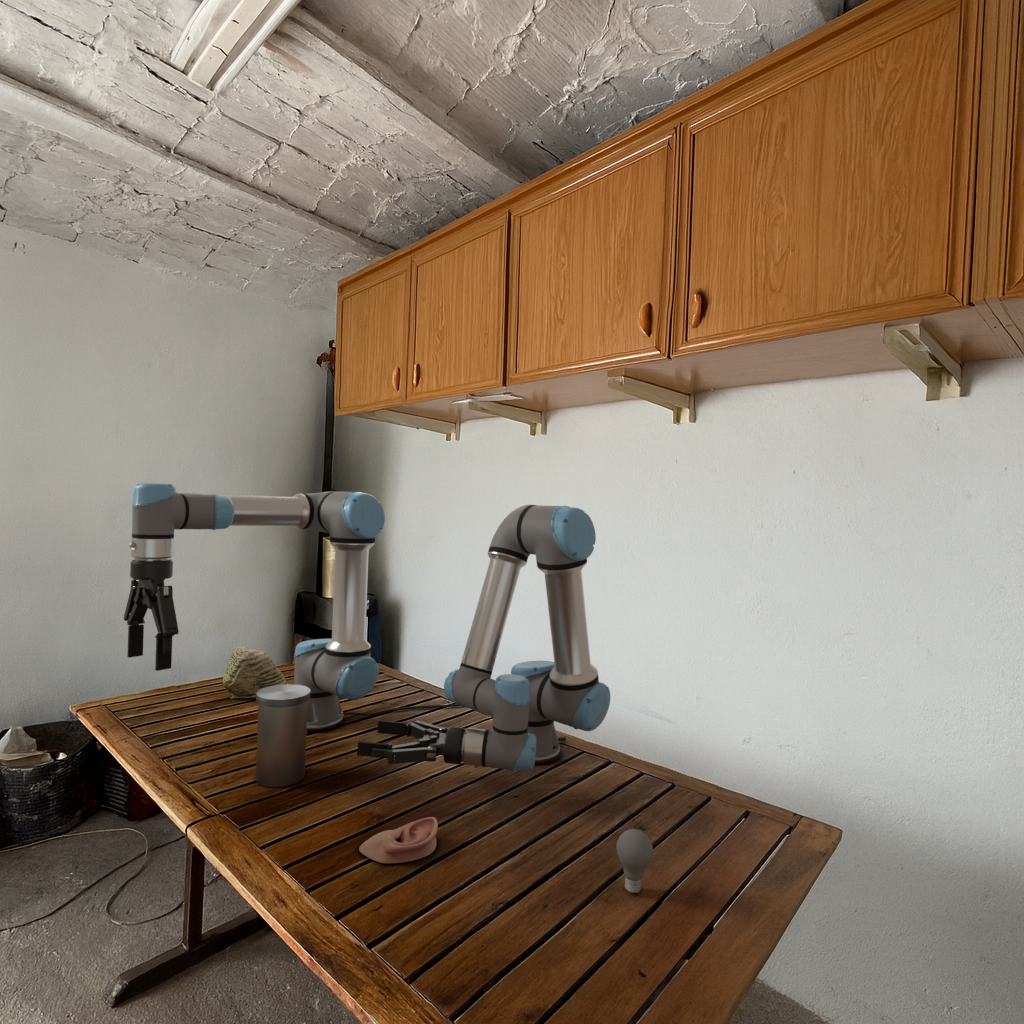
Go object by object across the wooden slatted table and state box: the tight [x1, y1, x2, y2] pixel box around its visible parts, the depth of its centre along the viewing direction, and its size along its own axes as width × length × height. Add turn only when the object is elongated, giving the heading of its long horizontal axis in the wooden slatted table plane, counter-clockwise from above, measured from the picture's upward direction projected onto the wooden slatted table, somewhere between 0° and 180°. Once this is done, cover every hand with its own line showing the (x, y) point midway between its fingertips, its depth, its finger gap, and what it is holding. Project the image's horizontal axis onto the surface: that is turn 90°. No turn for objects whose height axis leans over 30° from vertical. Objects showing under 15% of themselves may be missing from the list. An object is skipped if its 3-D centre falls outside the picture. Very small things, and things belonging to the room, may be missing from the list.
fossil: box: [222, 646, 287, 699], centre depth 198 cm, size 9×18×15 cm, turn 132°
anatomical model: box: [358, 816, 439, 864], centre depth 116 cm, size 13×4×12 cm
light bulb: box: [615, 828, 654, 894], centre depth 106 cm, size 6×6×10 cm
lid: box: [255, 683, 310, 707], centre depth 142 cm, size 11×11×2 cm
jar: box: [255, 701, 308, 788], centre depth 142 cm, size 10×10×19 cm
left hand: (148, 662), depth 129 cm, fingers open, 13 cm apart
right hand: (368, 736), depth 139 cm, fingers open, 13 cm apart
